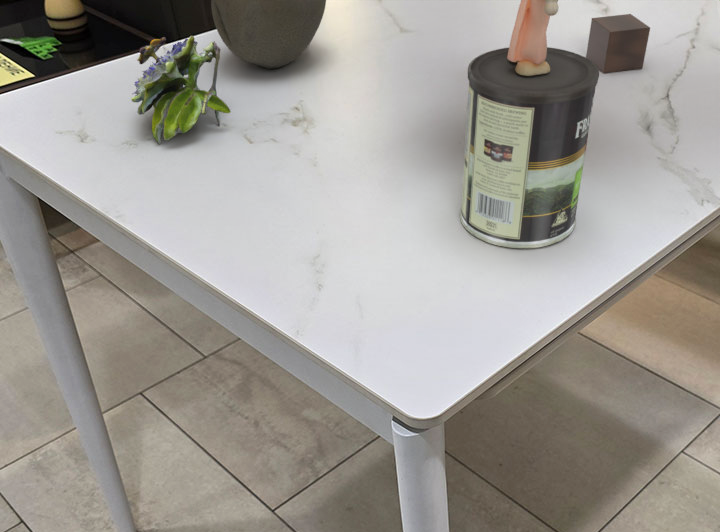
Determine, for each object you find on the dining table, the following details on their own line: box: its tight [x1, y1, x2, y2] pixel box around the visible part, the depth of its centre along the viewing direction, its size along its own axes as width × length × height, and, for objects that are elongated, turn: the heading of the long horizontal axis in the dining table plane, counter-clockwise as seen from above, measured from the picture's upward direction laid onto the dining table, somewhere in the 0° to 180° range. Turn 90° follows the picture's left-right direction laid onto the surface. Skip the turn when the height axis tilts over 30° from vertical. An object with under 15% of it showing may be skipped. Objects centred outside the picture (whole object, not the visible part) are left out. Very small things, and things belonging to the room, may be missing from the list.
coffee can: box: [459, 46, 600, 249], centre depth 73 cm, size 10×10×14 cm
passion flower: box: [130, 35, 232, 145], centre depth 94 cm, size 11×11×12 cm
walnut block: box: [585, 13, 651, 74], centre depth 102 cm, size 5×5×5 cm
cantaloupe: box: [210, 0, 327, 69], centre depth 104 cm, size 14×14×15 cm
